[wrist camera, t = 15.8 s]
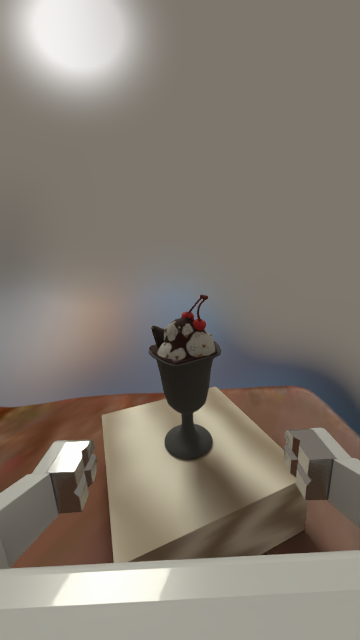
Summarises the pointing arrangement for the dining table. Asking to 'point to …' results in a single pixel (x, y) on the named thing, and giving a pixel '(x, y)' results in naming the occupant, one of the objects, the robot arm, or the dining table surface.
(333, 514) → the dining table surface
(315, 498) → the robot arm
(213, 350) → the sundae
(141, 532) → the cream block
